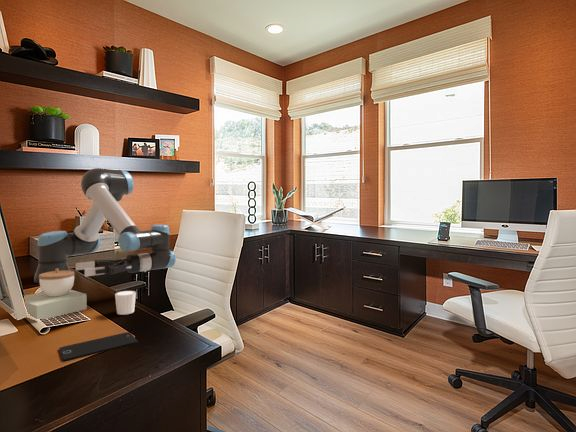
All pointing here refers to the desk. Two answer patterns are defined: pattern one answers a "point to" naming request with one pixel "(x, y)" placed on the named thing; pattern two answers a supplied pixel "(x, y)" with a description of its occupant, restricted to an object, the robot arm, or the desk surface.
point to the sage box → (54, 304)
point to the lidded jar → (56, 282)
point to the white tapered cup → (125, 302)
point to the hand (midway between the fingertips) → (80, 269)
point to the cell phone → (96, 346)
